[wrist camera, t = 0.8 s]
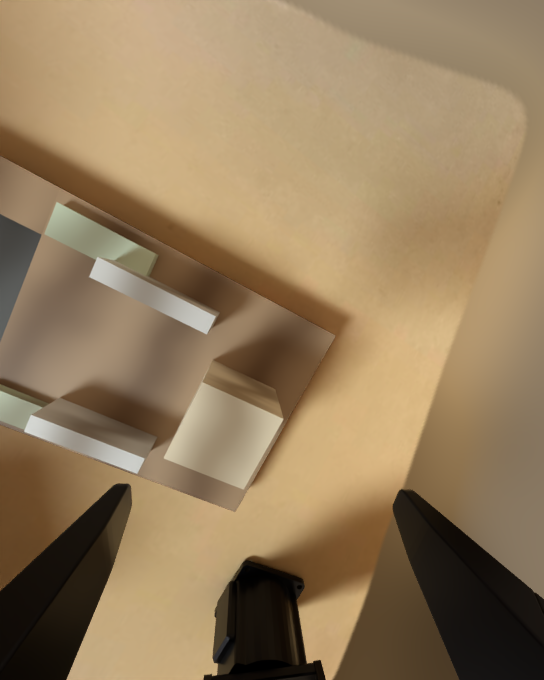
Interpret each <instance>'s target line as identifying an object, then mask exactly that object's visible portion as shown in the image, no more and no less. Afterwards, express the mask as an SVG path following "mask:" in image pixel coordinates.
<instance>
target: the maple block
mask: <svg viewBox="0 0 544 680" xmlns="http://www.w3.org/2000/svg"><path fill="white" fill-rule="evenodd" d="M283 419H284V418H283V415H282V411H281V408H280V404H279V401H278V397H277V394H276V390H275V389H274V388H271V387H269V386H267V385H265V384H263V383H261V382H259V381H257V380H255V379H252V378H250V377H248V376H246V375H244V374H242V373H240V372H238V371H235V370H233V369H231V368H229V367H227V366H225V365H223V364H221V363H219V362H216V361H214V360H212V362H211V364H210V366H209V368H208V370H207V372H206V374H205V376H204V378H203V380H202V382H201V384H200V386H199V387H198V389H197V391H196V393H195V395H194V397H193V399H192V401H191V403H190V405H189V407H188V409H187V411H186V413H185V415H184V417H183V419H182V421H181V423H180V425H179V427H178V429H177V431H176V433H175V435H174V438H173V440H172V442H171V444H170V446H169V448H168V450H167V452H166V454H165V456H164V459H166V460H169V461H171V462H174V463H177V464H179V465H182V466H184V467H187V468H189V469H192V470H194V471H197V472H200V473H202V474H205V475H207V476H210V477H212V478H215V479H218V480H220V481H223V482H225V483H228V484H230V485H233V486H236V487H238V488H241V489H243V490H244V488H245V486H246V484H247V483H248V481H249V479H250V477H251V476H252V474H253V472H254V470H255V469H256V467H257V465H258V463H259V462H260V460H261V458H262V456H263V455H264V453H265V451H266V449H267V448H268V446H269V444H270V442H271V440H272V439H273V437H274V435H275V433H276V432H277V430H278V428H279V426H280V425H281V423H282V421H283Z"/></svg>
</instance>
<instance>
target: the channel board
mask: <svg viewBox="0 0 544 680" xmlns="http://www.w3.org/2000/svg"><path fill="white" fill-rule="evenodd" d="M334 338H335V335H334V334H332V333H330V332H328V331H326V330H324V329H323V328H321V327H319V326H317V325H315V324H313V323H311V322H309V321H308V320H306V319H304V318H302V317H300V316H298V315H296V314H295V313H293V312H291V311H289V310H287V309H285V308H283V307H282V306H280V305H278V304H276V303H274V302H272V301H270V300H268V299H267V298H265V297H263V296H261V295H259V294H257V293H255V292H254V291H252V290H250V289H248V288H246V287H244V286H242V285H240V284H239V283H237V282H235V281H233V280H231V279H229V278H227V277H226V276H224V275H222V274H220V273H218V272H216V271H214V270H212V269H211V268H209V267H207V266H205V265H203V264H201V263H199V262H198V261H196V260H194V259H192V258H190V257H188V256H186V255H185V254H183V253H181V252H179V251H177V250H175V249H173V248H171V247H170V246H168V245H166V244H164V243H162V242H160V241H158V240H157V239H155V238H153V237H151V236H149V235H147V234H145V233H143V232H142V231H140V230H138V229H136V228H134V227H132V226H130V225H129V224H127V223H125V222H123V221H121V220H119V219H117V218H115V217H114V216H112V215H110V214H108V213H106V212H104V211H102V210H101V209H99V208H97V207H95V206H93V205H91V204H89V203H88V202H86V201H84V200H82V199H80V198H78V197H76V196H74V195H73V194H71V193H69V192H67V191H65V190H63V189H61V188H60V187H58V186H56V185H54V184H52V183H50V182H48V181H46V180H45V179H43V178H41V177H39V176H37V175H35V174H33V173H32V172H30V171H28V170H26V169H24V168H22V167H20V166H19V165H17V164H15V163H13V162H11V161H9V160H7V159H5V158H4V157H2V156H0V425H2V426H5V427H8V428H10V429H13V430H16V431H18V432H21V433H24V434H26V435H29V436H32V437H35V438H37V439H40V440H43V441H45V442H48V443H51V444H53V445H56V446H59V447H61V448H64V449H67V450H70V451H72V452H75V453H78V454H80V455H83V456H86V457H88V458H91V459H94V460H96V461H99V462H102V463H105V464H107V465H110V466H113V467H115V468H118V469H121V470H123V471H126V472H129V473H131V474H134V475H137V476H140V477H142V478H145V479H148V480H150V481H153V482H156V483H158V484H161V485H164V486H166V487H169V488H172V489H175V490H177V491H180V492H183V493H185V494H188V495H191V496H193V497H196V498H199V499H201V500H204V501H207V502H210V503H212V504H215V505H218V506H220V507H223V508H226V509H228V510H231V511H234V512H235V511H236V510H237V508H238V506H239V504H240V503H241V501H242V499H243V497H244V496H245V494H246V492H247V490H248V489H249V487H250V485H251V483H252V482H253V480H254V478H255V476H256V475H257V473H258V471H259V469H260V468H261V466H262V464H263V462H264V461H265V459H266V457H267V455H268V454H269V452H270V450H271V448H272V447H273V445H274V443H275V441H276V440H277V438H278V436H279V434H280V433H281V431H282V429H283V427H284V426H285V424H286V422H287V420H288V419H289V417H290V415H291V413H292V412H293V410H294V408H295V406H296V405H297V403H298V401H299V399H300V398H301V396H302V394H303V392H304V391H305V389H306V387H307V385H308V384H309V382H310V380H311V378H312V377H313V375H314V373H315V371H316V370H317V368H318V366H319V364H320V363H321V361H322V359H323V357H324V356H325V354H326V352H327V350H328V349H329V347H330V345H331V343H332V342H333V340H334ZM212 360H214V361H216V362H219V363H221V364H223V365H225V366H227V367H229V368H231V369H233V370H235V371H238V372H240V373H242V374H244V375H246V376H248V377H250V378H252V379H255V380H257V381H259V382H261V383H263V384H265V385H267V386H269V387H271V388H274V389H275V390H276V394H277V397H278V401H279V404H280V408H281V411H282V415H283V418H284V419H283V421H282V423H281V425H280V426H279V428H278V430H277V432H276V433H275V435H274V437H273V439H272V440H271V442H270V444H269V446H268V448H267V449H266V451H265V453H264V455H263V456H262V458H261V460H260V462H259V463H258V465H257V467H256V469H255V470H254V472H253V474H252V476H251V477H250V479H249V481H248V483H247V484H246V486H245V488H244V490H243V489H241V488H238V487H236V486H233V485H230V484H228V483H225V482H223V481H220V480H218V479H215V478H212V477H210V476H207V475H205V474H202V473H200V472H197V471H194V470H192V469H189V468H187V467H184V466H182V465H179V464H177V463H174V462H171V461H169V460H166V459H164V456H165V454H166V452H167V450H168V448H169V446H170V444H171V442H172V440H173V438H174V435H175V433H176V431H177V429H178V427H179V425H180V423H181V421H182V419H183V417H184V415H185V413H186V411H187V409H188V407H189V405H190V403H191V401H192V399H193V397H194V395H195V393H196V391H197V389H198V387H199V386H200V384H201V382H202V380H203V378H204V376H205V374H206V372H207V370H208V368H209V366H210V364H211V362H212Z"/></svg>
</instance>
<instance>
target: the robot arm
mask: <svg viewBox="0 0 544 680" xmlns="http://www.w3.org/2000/svg"><path fill="white" fill-rule="evenodd" d="M131 506H132V498H131V486H130V485H129V484H115V485H114V486H113V487H111V488H110V489H109V490H108V491H107V492H106V493H105V494H104V495H103V496H102V497H101V498H100V499H99V500H98V501H96V502H95V503H94V504H93V505H92V506H91V507H90V508H89V509H88V510H87V511H86V512H85V513H84V514H83V515H81V516H80V517H79V518H78V519H77V520H76V521H75V522H74V523H73V524H72V525H71V526H70V527H69V528H67V529H66V530H65V531H64V532H63V533H62V534H61V535H60V536H59V537H58V538H57V539H56V540H55V541H54V542H52V543H51V544H50V545H49V546H48V547H47V548H46V549H45V550H44V551H43V552H42V553H41V554H40V555H39V556H37V557H36V558H35V559H34V560H33V561H32V562H31V563H30V564H29V565H28V566H27V567H26V568H25V569H24V570H22V571H21V572H20V573H19V574H18V575H17V576H16V577H15V578H14V579H13V580H12V581H11V582H10V583H9V584H7V585H6V586H5V587H4V588H3V589H2V590H1V591H0V680H66V679H67V677H68V674H69V672H70V670H71V667H72V665H73V662H74V660H75V658H76V655H77V653H78V650H79V648H80V646H81V643H82V641H83V638H84V636H85V634H86V631H87V629H88V626H89V624H90V622H91V619H92V617H93V614H94V612H95V609H96V607H97V605H98V602H99V600H100V597H101V595H102V593H103V590H104V588H105V585H106V583H107V581H108V578H109V576H110V573H111V570H112V568H113V565H114V562H115V558H116V555H117V552H118V549H119V546H120V543H121V539H122V536H123V533H124V530H125V527H126V523H127V520H128V517H129V514H130V510H131ZM393 513H394V516H395V519H396V522H397V525H398V528H399V531H400V534H401V537H402V540H403V543H404V546H405V549H406V552H407V555H408V558H409V561H410V564H411V566H412V569H413V571H414V574H415V576H416V578H417V581H418V583H419V585H420V588H421V590H422V592H423V595H424V597H425V599H426V602H427V604H428V607H429V609H430V611H431V614H432V616H433V619H434V621H435V623H436V626H437V628H438V630H439V633H440V635H441V637H442V640H443V642H444V645H445V647H446V649H447V652H448V654H449V656H450V658H451V661H452V663H453V666H454V668H455V671H456V673H457V675H458V677H459V680H544V599H543V598H542V597H540V596H539V595H538V594H537V593H534V592H533V590H532V589H531V588H529V587H528V586H527V585H526V584H525V583H523V582H522V581H521V580H520V579H518V578H517V577H516V576H515V575H514V574H513V573H511V572H510V571H509V570H508V569H507V568H505V567H504V566H503V565H502V564H501V563H499V562H498V561H497V560H496V559H495V558H493V557H492V556H491V555H490V554H489V553H488V552H486V551H485V550H484V549H483V548H481V547H480V546H479V545H478V544H477V543H476V542H474V541H473V540H472V539H471V538H470V537H468V536H467V535H466V534H465V533H464V532H462V531H461V530H460V529H459V528H458V527H456V526H455V525H454V524H453V523H452V522H450V521H449V520H448V519H447V518H446V517H444V516H443V515H442V514H441V513H440V512H438V511H437V510H436V509H435V508H434V507H432V506H431V505H430V504H429V503H428V502H426V501H425V500H424V499H423V498H421V497H420V496H419V495H418V494H417V493H416V492H414V491H413V490H410V489H401V490H399V492H398V494H397V496H396V499H395V501H394V504H393ZM304 587H305V586H304V581H303V579H301V578H298V577H295V576H292V575H289V574H286V573H283V572H280V571H277V570H274V569H271V568H268V567H265V566H263V565H260V564H257V563H254V562H251V561H245V562H243V563H242V565H241V566H240V568H239V570H238V571H237V573H236V575H235V576H234V578H233V580H232V581H230V582H229V584H228V585H227V587H226V589H225V590H224V592H223V594H222V595H221V597H220V599H219V600H218V603H217V607H216V608H215V617H216V625H215V636H214V647H213V661H214V663H217V664H218V671H217V675H216V676H212V674H209V675H204V680H326V679H325V675H324V671H323V667H322V664H321V660H316V661H313V663H308V664H307V661H306V655H305V649H304V643H303V636H302V630H301V624H300V618H299V611H298V605H297V599H298V597H299V596H300V594H301V593H302V591H303V589H304Z"/></svg>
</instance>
